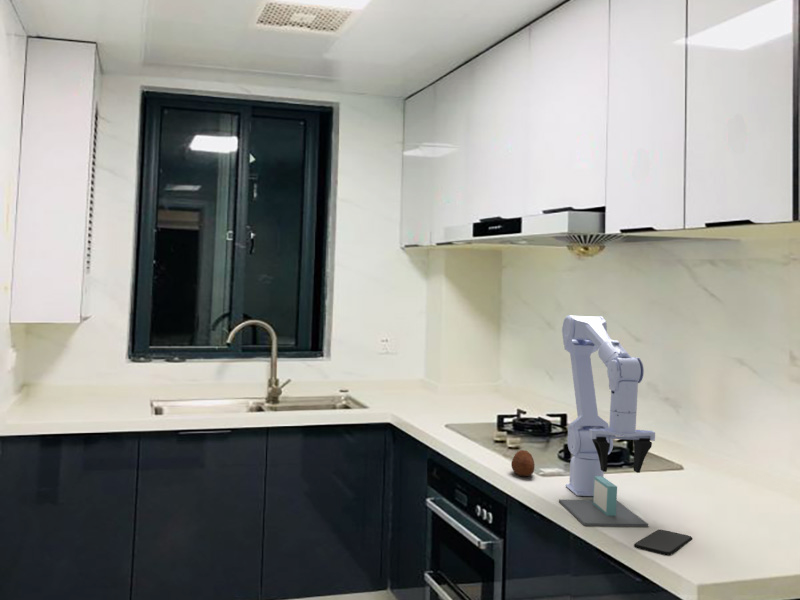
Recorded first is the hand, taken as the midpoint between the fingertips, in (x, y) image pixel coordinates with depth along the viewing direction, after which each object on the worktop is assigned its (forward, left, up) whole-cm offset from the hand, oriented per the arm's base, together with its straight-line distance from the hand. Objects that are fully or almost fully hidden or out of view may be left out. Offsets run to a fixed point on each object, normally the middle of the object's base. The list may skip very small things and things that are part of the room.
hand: (620, 471), depth 177 cm
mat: (+1, -4, -9) cm, 10 cm away
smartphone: (+20, +2, -10) cm, 22 cm away
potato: (-34, -13, -10) cm, 38 cm away
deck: (0, -3, -9) cm, 9 cm away
